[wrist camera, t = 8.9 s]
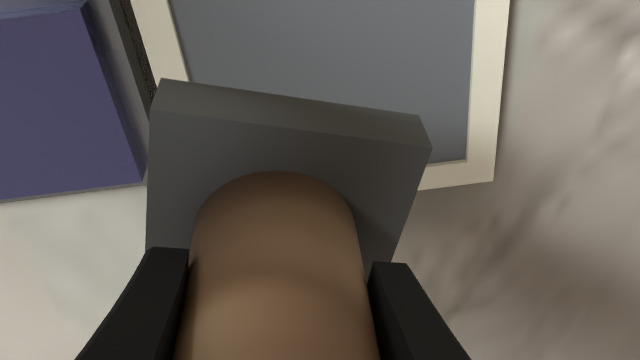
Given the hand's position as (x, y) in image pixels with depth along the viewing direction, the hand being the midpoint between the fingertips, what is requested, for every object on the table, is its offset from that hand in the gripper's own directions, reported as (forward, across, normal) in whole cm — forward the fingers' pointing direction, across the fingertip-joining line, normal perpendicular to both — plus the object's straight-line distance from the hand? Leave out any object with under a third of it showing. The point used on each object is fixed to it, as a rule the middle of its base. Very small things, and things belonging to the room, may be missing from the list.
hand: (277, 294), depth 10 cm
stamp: (+3, 0, 0) cm, 3 cm away
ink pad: (+10, +8, +2) cm, 13 cm away
